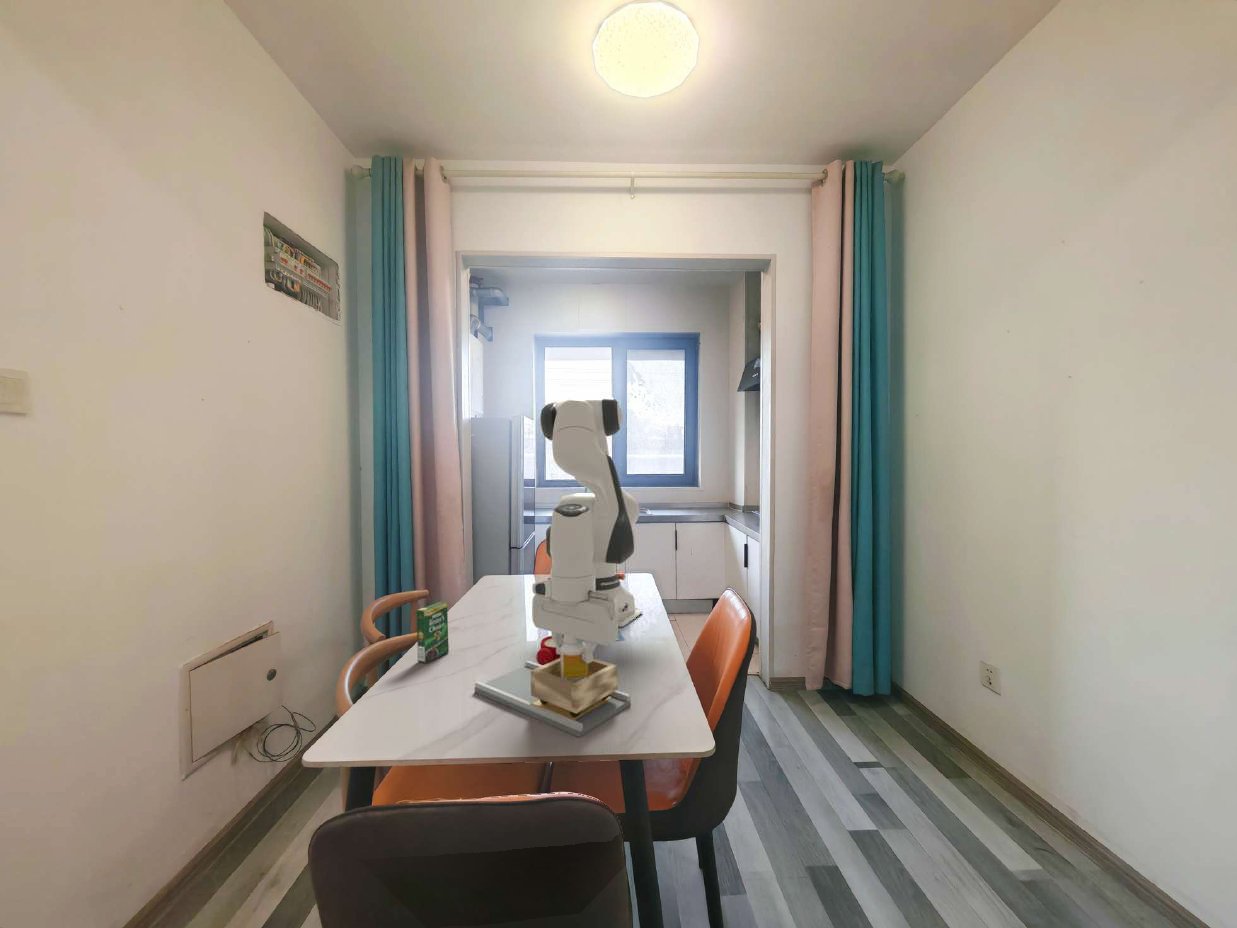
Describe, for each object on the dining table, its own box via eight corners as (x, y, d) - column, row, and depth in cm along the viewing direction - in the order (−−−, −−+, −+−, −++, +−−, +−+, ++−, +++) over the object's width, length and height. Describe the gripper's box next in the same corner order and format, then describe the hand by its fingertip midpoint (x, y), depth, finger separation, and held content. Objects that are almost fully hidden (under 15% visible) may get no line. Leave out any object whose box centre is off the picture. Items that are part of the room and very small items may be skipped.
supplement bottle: (593, 684, 99) (592, 634, 99) (568, 691, 96) (567, 640, 96) (580, 674, 104) (579, 627, 104) (556, 681, 101) (555, 632, 101)
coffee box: (424, 664, 123) (424, 610, 123) (416, 662, 124) (415, 609, 124) (449, 653, 130) (448, 602, 130) (441, 651, 131) (440, 600, 131)
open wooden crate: (573, 682, 108) (573, 652, 108) (617, 698, 101) (617, 665, 101) (531, 704, 99) (530, 670, 99) (576, 722, 91) (575, 686, 91)
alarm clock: (581, 633, 133) (577, 640, 119) (581, 658, 132) (577, 668, 117) (542, 634, 133) (532, 640, 119) (541, 659, 132) (532, 669, 117)
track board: (528, 668, 119) (528, 660, 119) (630, 704, 101) (630, 694, 101) (474, 691, 107) (474, 682, 107) (579, 737, 89) (579, 725, 89)
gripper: (624, 591, 96) (625, 665, 96) (548, 578, 109) (549, 642, 109) (603, 599, 91) (604, 676, 91) (526, 583, 104) (527, 651, 104)
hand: (574, 657), depth 100 cm, fingers closed on supplement bottle, 5 cm apart
